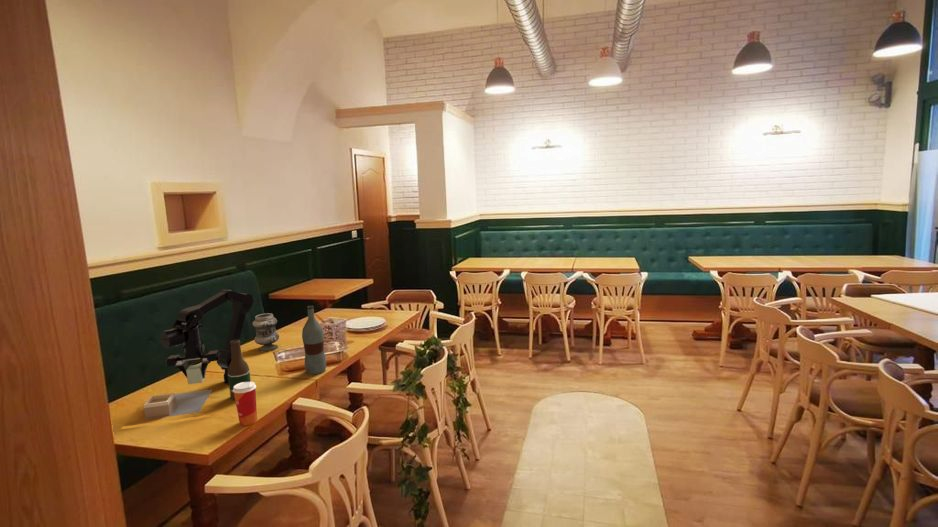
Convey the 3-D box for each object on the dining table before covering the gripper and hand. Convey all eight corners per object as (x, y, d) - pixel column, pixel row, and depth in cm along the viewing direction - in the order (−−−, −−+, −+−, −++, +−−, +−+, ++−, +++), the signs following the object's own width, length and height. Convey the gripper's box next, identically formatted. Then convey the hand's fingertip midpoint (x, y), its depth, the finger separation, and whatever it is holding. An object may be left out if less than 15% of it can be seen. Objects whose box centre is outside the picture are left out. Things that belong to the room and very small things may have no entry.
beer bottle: (256, 395, 201) (250, 338, 197) (242, 404, 194) (235, 344, 190) (241, 393, 204) (234, 337, 200) (226, 401, 196) (219, 343, 193)
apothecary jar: (263, 344, 267) (259, 312, 264) (284, 344, 265) (281, 312, 263) (250, 352, 255) (246, 318, 252) (272, 352, 254) (269, 318, 251)
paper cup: (241, 418, 182) (236, 381, 180) (262, 416, 182) (258, 380, 180) (233, 428, 174) (228, 390, 172) (255, 426, 175) (251, 388, 172)
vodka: (330, 367, 229) (325, 304, 224) (320, 375, 220) (314, 309, 215) (312, 366, 231) (306, 303, 226) (301, 374, 222) (294, 308, 218)
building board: (213, 391, 207) (211, 377, 206) (199, 414, 186) (197, 398, 185) (164, 397, 203) (162, 383, 202) (144, 422, 182) (142, 406, 181)
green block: (205, 378, 203) (203, 363, 202) (202, 382, 198) (200, 368, 197) (191, 379, 202) (189, 365, 201) (188, 384, 197) (186, 369, 196)
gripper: (221, 332, 207) (226, 368, 210) (171, 337, 203) (176, 374, 205) (215, 340, 197) (220, 378, 199) (162, 346, 192) (167, 384, 195)
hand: (196, 378), depth 200 cm, fingers closed on green block, 5 cm apart
